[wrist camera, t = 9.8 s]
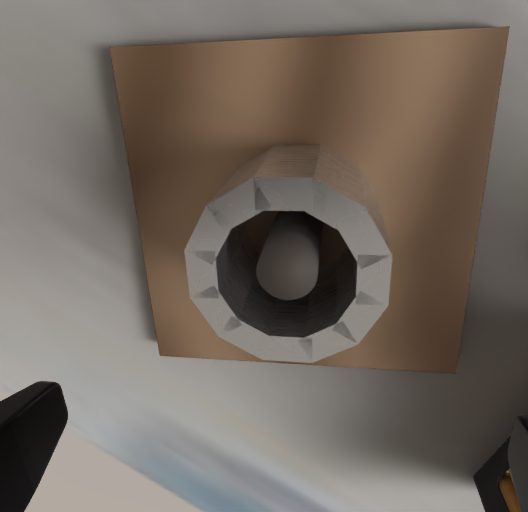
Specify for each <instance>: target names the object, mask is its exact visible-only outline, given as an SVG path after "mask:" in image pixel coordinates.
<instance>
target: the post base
mask: <svg viewBox="0 0 528 512" xmlns="http://www.w3.org/2000/svg"><path fill="white" fill-rule="evenodd" d="M509 27H510V26H507V27H488V28H469V29H450V30H430V31H411V32H392V33H373V34H353V35H334V36H315V37H296V38H276V39H257V40H238V41H219V42H200V43H180V44H161V45H142V46H123V47H110V53H111V59H112V65H113V71H114V77H115V84H116V90H117V96H118V102H119V108H120V114H121V120H122V127H123V133H124V139H125V145H126V151H127V157H128V163H129V170H130V176H131V182H132V188H133V194H134V200H135V206H136V213H137V219H138V225H139V231H140V237H141V243H142V250H143V256H144V262H145V268H146V274H147V280H148V286H149V293H150V299H151V305H152V311H153V317H154V323H155V329H156V336H157V342H158V348H159V354H160V356H172V357H189V358H206V359H222V360H239V361H256V362H273V363H289V364H306V365H323V366H339V367H356V368H373V369H390V370H406V371H423V372H440V373H456V369H457V363H458V356H459V350H460V343H461V337H462V330H463V324H464V317H465V311H466V305H467V298H468V292H469V285H470V279H471V272H472V266H473V259H474V253H475V246H476V240H477V233H478V227H479V221H480V214H481V208H482V201H483V195H484V188H485V182H486V175H487V169H488V162H489V156H490V149H491V143H492V137H493V130H494V124H495V117H496V111H497V104H498V98H499V91H500V85H501V78H502V72H503V66H504V59H505V53H506V46H507V40H508V33H509ZM318 144H320V145H322V146H324V147H326V148H327V149H329V150H331V151H333V152H334V153H336V154H338V155H340V156H341V157H343V158H345V159H347V160H348V161H350V162H352V163H354V164H355V165H357V166H359V167H360V169H361V171H362V173H363V174H364V176H365V178H366V180H367V182H368V184H369V185H370V187H371V189H372V191H373V193H374V194H375V196H376V198H377V200H378V202H379V204H380V207H381V211H382V215H383V219H384V223H385V227H386V232H387V236H388V240H389V244H390V248H391V252H392V267H391V279H390V292H389V304H388V307H387V308H386V310H385V311H384V312H383V313H382V315H381V316H380V317H379V318H378V320H377V321H376V322H375V324H374V325H373V326H372V327H371V329H370V330H369V331H368V332H367V334H366V335H365V336H364V337H363V339H362V340H361V341H360V343H359V344H358V345H355V346H353V347H350V348H348V349H346V350H343V351H341V352H338V353H336V354H333V355H331V356H328V357H326V358H323V359H321V360H319V361H316V362H314V363H303V362H287V361H271V360H263V359H260V358H258V357H256V356H254V355H252V354H250V353H248V352H246V351H245V350H243V349H241V348H239V347H237V346H235V345H233V344H231V343H230V342H228V341H226V340H224V339H222V338H220V337H219V336H218V335H217V334H216V333H215V331H214V330H213V328H212V327H211V326H210V324H209V323H208V322H207V320H206V319H205V318H204V316H203V315H202V313H201V312H200V311H199V309H198V308H197V307H196V305H195V304H194V303H193V301H192V300H191V298H190V295H189V286H188V278H187V269H186V261H185V253H184V249H185V247H186V245H187V243H188V241H189V239H190V237H191V235H192V233H193V231H194V229H195V227H196V225H197V223H198V221H199V219H200V217H201V215H202V213H203V211H204V209H205V207H206V205H207V204H208V203H209V202H210V201H211V199H212V198H213V197H214V196H215V195H216V194H217V193H218V191H219V190H220V189H221V188H222V187H223V186H224V184H225V183H226V182H227V181H228V180H229V179H230V178H231V176H232V175H233V174H234V173H235V172H236V171H237V170H238V168H239V167H241V166H242V165H244V164H246V163H247V162H249V161H250V160H252V159H254V158H255V157H257V156H259V155H260V154H262V153H264V152H265V151H267V150H268V149H270V148H272V147H273V146H275V145H318ZM246 227H247V236H248V238H249V239H250V241H251V242H252V244H253V245H254V247H255V249H256V250H257V252H258V253H259V255H260V258H259V260H258V263H257V267H256V274H257V279H258V281H259V283H260V285H261V286H262V288H263V289H264V290H265V291H266V292H267V293H269V294H270V295H272V296H274V297H276V298H279V299H283V300H294V299H298V298H301V297H303V296H305V295H307V294H308V293H309V292H310V291H311V290H312V289H313V287H314V286H315V284H316V281H317V276H318V269H320V268H322V267H324V266H326V265H328V264H330V263H332V262H334V261H336V260H338V258H339V257H340V255H341V254H342V252H343V251H344V249H345V248H346V247H347V244H346V242H345V241H344V239H343V237H342V235H341V234H340V232H339V230H337V229H335V228H333V227H331V226H330V225H328V224H326V223H324V222H322V221H321V220H319V219H317V218H315V217H314V216H312V215H310V214H308V213H306V212H305V211H262V212H260V213H259V214H257V215H255V216H253V217H252V218H250V219H248V220H246Z"/></svg>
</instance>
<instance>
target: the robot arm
mask: <svg viewBox="0 0 528 512" xmlns="http://www.w3.org/2000/svg"><path fill="white" fill-rule="evenodd" d="M67 420H68V410H67V407H66V403H65V400H64V396H63V392H62V389H61V386H60V385H59V384H58V383H56V382H48V381H39V382H36V383H34V384H32V385H30V386H28V387H27V388H25V389H23V390H21V391H19V392H17V393H15V394H13V395H11V396H10V397H8V398H6V399H4V400H2V401H0V512H24V511H25V509H26V507H27V506H28V504H29V502H30V500H31V498H32V496H33V495H34V493H35V491H36V489H37V487H38V485H39V483H40V481H41V478H42V476H43V474H44V472H45V469H46V467H47V465H48V463H49V461H50V459H51V457H52V454H53V452H54V450H55V448H56V446H57V443H58V441H59V439H60V437H61V435H62V433H63V430H64V428H65V426H66V423H67ZM508 461H509V466H510V470H511V474H512V478H513V482H514V486H515V490H516V495H517V499H518V503H519V507H520V511H521V512H528V416H519V417H517V418H516V420H515V422H514V426H513V430H512V435H511V439H510V443H509V448H508Z"/></svg>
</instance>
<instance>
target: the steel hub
mask: <svg viewBox="0 0 528 512" xmlns="http://www.w3.org/2000/svg"><path fill="white" fill-rule="evenodd" d="M262 211H305V212H306V213H308V214H310V215H312V216H314V217H315V218H317V219H319V220H321V221H322V222H324V223H326V224H328V225H330V226H331V227H333V228H335V229H337V230H339V232H340V234H341V235H342V237H343V239H344V241H345V242H346V244H347V247H346V248H345V249H344V251H343V252H342V254H341V255H340V257H339V258H338V260H336V261H334V262H332V263H330V264H328V265H326V266H324V267H322V268H320V269H318V276H317V281H316V284H315V286H314V287H313V289H312V290H311V291H310V292H309V293H308V294H307V295H305V296H303V297H301V298H298V299H294V300H283V299H279V298H276V297H274V296H272V295H270V294H269V293H267V292H266V291H265V290H264V289H263V288H262V286H261V285H260V283H259V281H258V279H257V274H256V267H257V263H258V260H259V258H260V255H259V253H258V252H257V250H256V249H255V247H254V245H253V244H252V242H251V241H250V239H249V238H248V236H247V227H246V220H248V219H250V218H252V217H253V216H255V215H257V214H259V213H260V212H262ZM184 253H185V261H186V269H187V278H188V286H189V295H190V298H191V300H192V301H193V303H194V304H195V305H196V307H197V308H198V309H199V311H200V312H201V313H202V315H203V316H204V318H205V319H206V320H207V322H208V323H209V324H210V326H211V327H212V328H213V330H214V331H215V333H216V334H217V335H218V336H219V337H220V338H222V339H224V340H226V341H228V342H230V343H231V344H233V345H235V346H237V347H239V348H241V349H243V350H245V351H246V352H248V353H250V354H252V355H254V356H256V357H258V358H260V359H263V360H271V361H287V362H303V363H314V362H316V361H319V360H321V359H323V358H326V357H328V356H331V355H333V354H336V353H338V352H341V351H343V350H346V349H348V348H350V347H353V346H355V345H358V344H359V343H360V341H361V340H362V339H363V337H364V336H365V335H366V334H367V332H368V331H369V330H370V329H371V327H372V326H373V325H374V324H375V322H376V321H377V320H378V318H379V317H380V316H381V315H382V313H383V312H384V311H385V310H386V308H387V307H388V304H389V292H390V279H391V267H392V252H391V248H390V244H389V240H388V236H387V232H386V227H385V223H384V219H383V215H382V211H381V207H380V204H379V202H378V200H377V198H376V196H375V194H374V193H373V191H372V189H371V187H370V185H369V184H368V182H367V180H366V178H365V176H364V174H363V173H362V171H361V169H360V167H359V166H357V165H355V164H354V163H352V162H350V161H348V160H347V159H345V158H343V157H341V156H340V155H338V154H336V153H334V152H333V151H331V150H329V149H327V148H326V147H324V146H322V145H320V144H318V145H275V146H273V147H272V148H270V149H268V150H267V151H265V152H264V153H262V154H260V155H259V156H257V157H255V158H254V159H252V160H250V161H249V162H247V163H246V164H244V165H242V166H241V167H239V168H238V170H237V171H236V172H235V173H234V174H233V175H232V176H231V178H230V179H229V180H228V181H227V182H226V183H225V184H224V186H223V187H222V188H221V189H220V190H219V191H218V193H217V194H216V195H215V196H214V197H213V198H212V199H211V201H210V202H209V203H208V204H207V205H206V207H205V209H204V211H203V213H202V215H201V217H200V219H199V221H198V223H197V225H196V227H195V229H194V231H193V233H192V235H191V237H190V239H189V241H188V243H187V245H186V247H185V249H184Z"/></svg>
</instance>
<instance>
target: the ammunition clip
mask: <svg viewBox="0 0 528 512" xmlns="http://www.w3.org/2000/svg"><path fill="white" fill-rule="evenodd" d="M510 439H511V436H510V437H509V438H508V439H507V441H506V442H505V443H504V444H503V445H502V446H501V447H500V448H499V449H498V450H497V451H496V452H495V454H494V455H493V456H492V457H491V458H490V459H489V460H488V461H487V462H486V463H485V464H484V465H483V467H482V468H481V469H480V470H479V471H478V472H477V473H476V474H475V475H474V476H473V478H474V481H475V484H476V487H477V489H478V492H479V495H480V498H481V501H482V504H483V507H484V510H485V512H521V511H520V507H519V503H518V499H517V495H516V490H515V486H514V482H513V478H512V474H511V470H510V466H509V461H508V448H509V443H510Z"/></svg>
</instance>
